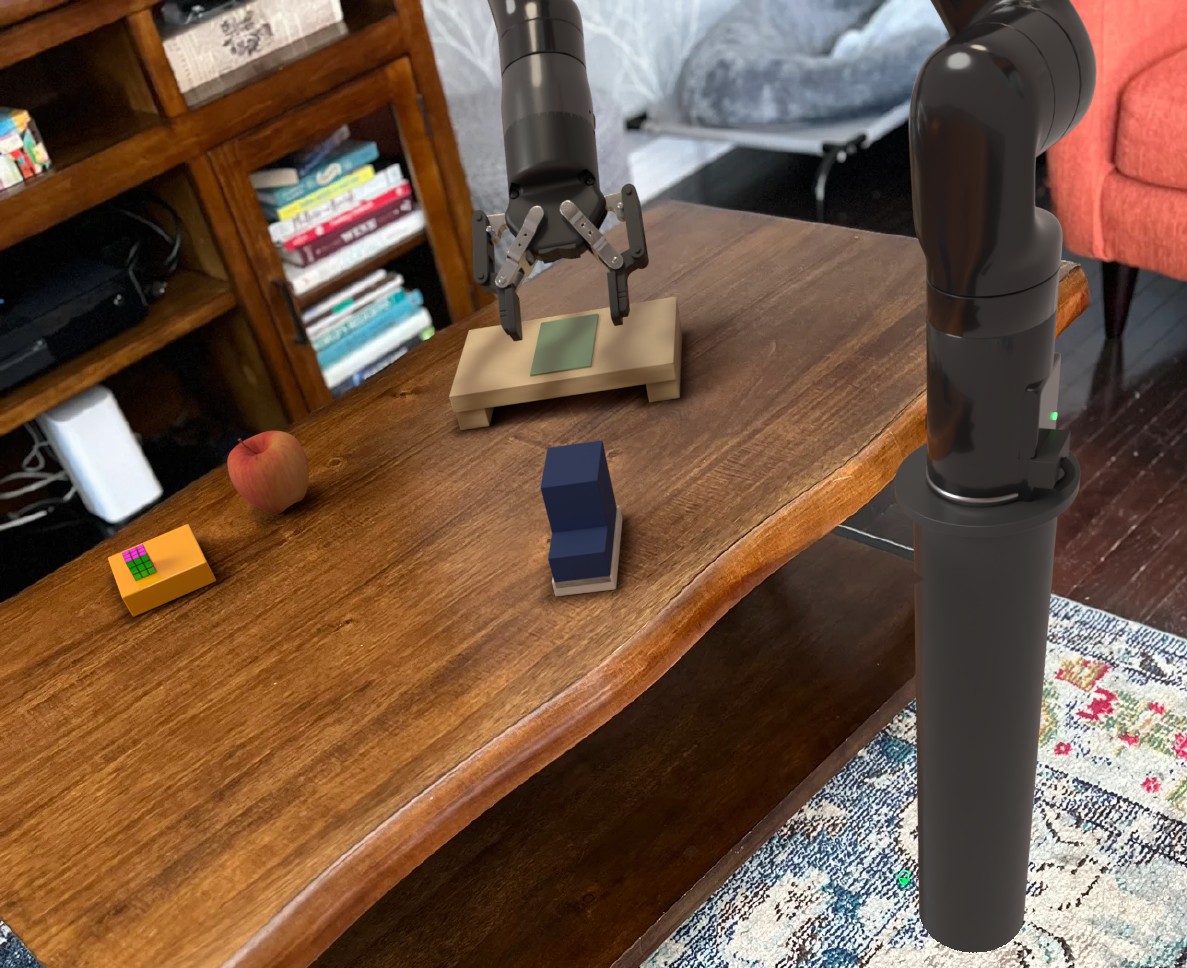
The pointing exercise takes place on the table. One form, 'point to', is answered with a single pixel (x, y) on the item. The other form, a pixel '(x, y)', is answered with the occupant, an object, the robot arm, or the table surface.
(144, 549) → the orange rectangular box
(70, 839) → the table surface
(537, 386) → the shoe shelf
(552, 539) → the trainer
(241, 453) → the apple
